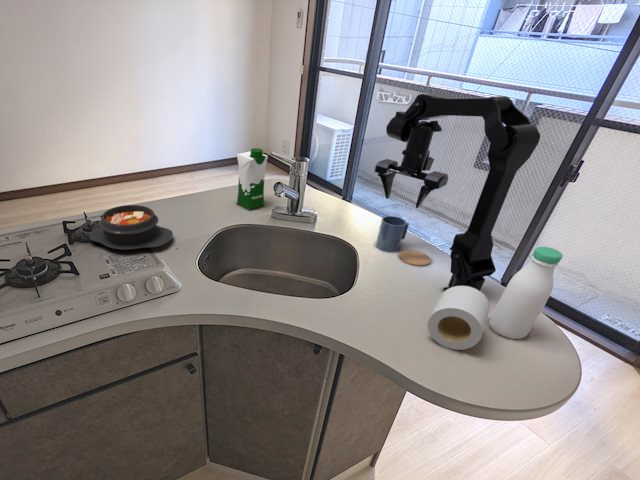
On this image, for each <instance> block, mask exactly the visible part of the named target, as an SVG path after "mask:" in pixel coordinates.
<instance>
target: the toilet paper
mask: <svg viewBox="0 0 640 480" xmlns="http://www.w3.org/2000/svg"><path fill="white" fill-rule="evenodd" d="M490 309H491V306H490V302H489V299H488V298H487V296H486V295H485V294H484V293H483V292H482V291H481V290H480V291H479V290H477V289H475V288H472V287H469V286H455V287H451V288H449V289H447V290H446V291H444V290H443V292H442V294H441V295H440V297H439V298H438V301H437V302H436V304H435V306H434V308H433V310H432V313H431V314H430V317H429V319H428V321H427V330H428V333H429V335H430V337H431V338H432V339H433V340H434V341H435V342H436V343H437V344H439V345H440V346H442V347H444V348H447V349H451V350H458V351H460V350H461V351H463V350H468V349H471V348H472V347H474V346H476V345H477V344H478V343H479V342H480V341H481V339H482V336H483V333H484V330H485V327H486V323H487V320H488V317H489V313H490Z"/></svg>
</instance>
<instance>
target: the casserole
mask: <svg viewBox="0 0 640 480" xmlns="http://www.w3.org/2000/svg"><path fill="white" fill-rule="evenodd" d="M158 223H159V217H158V216H157V215H156V213H155V212H154V210H153V209H151V208H150V207H147V206H144V205H139V204H127V205H126V204H125V205H119V206H115V207H112V208H110V209H108V210H106V211H104V212H103V213H102V215H101V218H100V220H99V222H98V226H100V227H98V226H96V227H94V228H93V229H92V230H91V232H90V233H89V235H88V239H89V240H90V241H93V242H95V243H99V244H101V245H103V246H105V247H107V248H110V249H114V250H123V251H124V250H126V251H129V250H130V251H131V250H139V249H145V248H148V249H150V248H159V247H162V246H164V245H166V244H167V243H169V242H171V240H172V238H173V231H172V230H171V229H169V228H166V227H163V226H159V225H158Z"/></svg>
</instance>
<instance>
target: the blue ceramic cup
mask: <svg viewBox="0 0 640 480" xmlns="http://www.w3.org/2000/svg"><path fill="white" fill-rule="evenodd" d="M409 226H410V223H409V222H407V221H406V219H404V218H401V217H399V216H394V215H387V216H384V217H382V218H381V221H380V225H379V230H378V233H377V237H376V240H375V247H376V248H377V249H378V250H380V251H382V252H387V253H395V252H397V251H399V249H400V246H401V244H402V241H404V240H405V239H406V236H407V232H408V229H409Z"/></svg>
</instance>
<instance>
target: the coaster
mask: <svg viewBox="0 0 640 480" xmlns="http://www.w3.org/2000/svg"><path fill="white" fill-rule="evenodd" d="M398 256H399V259H400V260H401V261H402V262H404V263H406V264H408V265H411V266H415V267H417V266H418V267H425V266H428V265H430V263H431V259H432V258H431V257H430V256H429V255H428V254H426V253H424V252H421V251H418V250H413V249H406V250H402V251H400V252H399V255H398Z"/></svg>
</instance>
